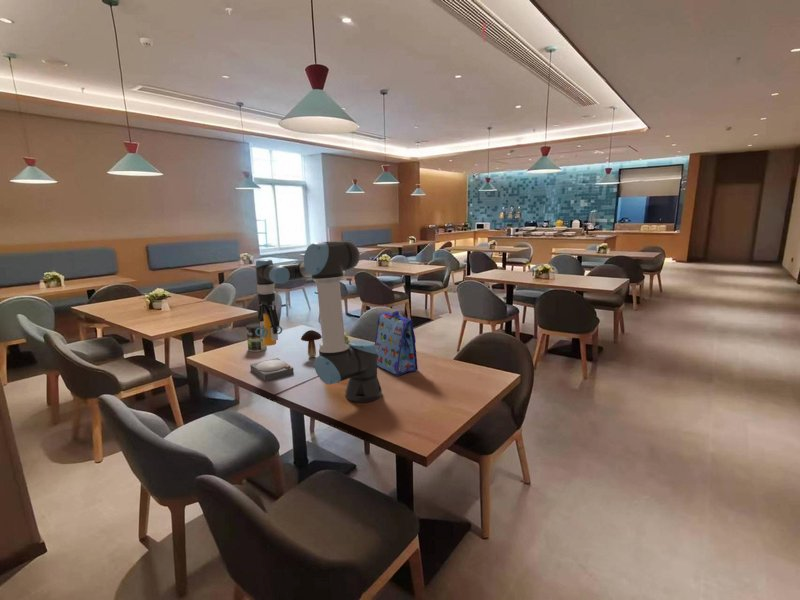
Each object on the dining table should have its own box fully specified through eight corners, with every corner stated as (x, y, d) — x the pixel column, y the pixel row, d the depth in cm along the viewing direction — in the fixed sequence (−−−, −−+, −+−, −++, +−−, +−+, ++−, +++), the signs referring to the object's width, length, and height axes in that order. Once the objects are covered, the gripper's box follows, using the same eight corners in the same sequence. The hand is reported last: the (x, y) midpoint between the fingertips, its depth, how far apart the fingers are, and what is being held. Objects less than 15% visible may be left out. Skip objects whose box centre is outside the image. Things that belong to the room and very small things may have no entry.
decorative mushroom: (301, 361, 207) (300, 333, 204) (301, 354, 218) (300, 328, 215) (323, 359, 210) (322, 332, 207) (322, 353, 220) (321, 326, 217)
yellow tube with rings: (273, 348, 184) (271, 317, 181) (253, 347, 186) (250, 316, 183) (286, 340, 196) (284, 311, 192) (266, 339, 198) (264, 310, 195)
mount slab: (293, 373, 191) (293, 366, 191) (265, 381, 182) (264, 373, 182) (277, 363, 205) (277, 356, 204) (250, 370, 196) (250, 363, 195)
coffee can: (252, 353, 221) (250, 328, 218) (245, 348, 228) (243, 324, 225) (270, 348, 227) (268, 325, 225) (262, 344, 235) (260, 321, 232)
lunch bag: (418, 370, 195) (418, 313, 189) (396, 377, 187) (395, 317, 181) (392, 358, 212) (392, 305, 206) (370, 363, 204) (369, 309, 198)
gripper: (285, 295, 179) (287, 341, 183) (263, 288, 197) (266, 330, 201) (268, 297, 174) (272, 344, 179) (248, 290, 192) (252, 333, 197)
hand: (269, 337), depth 190 cm, fingers closed on yellow tube with rings, 12 cm apart
